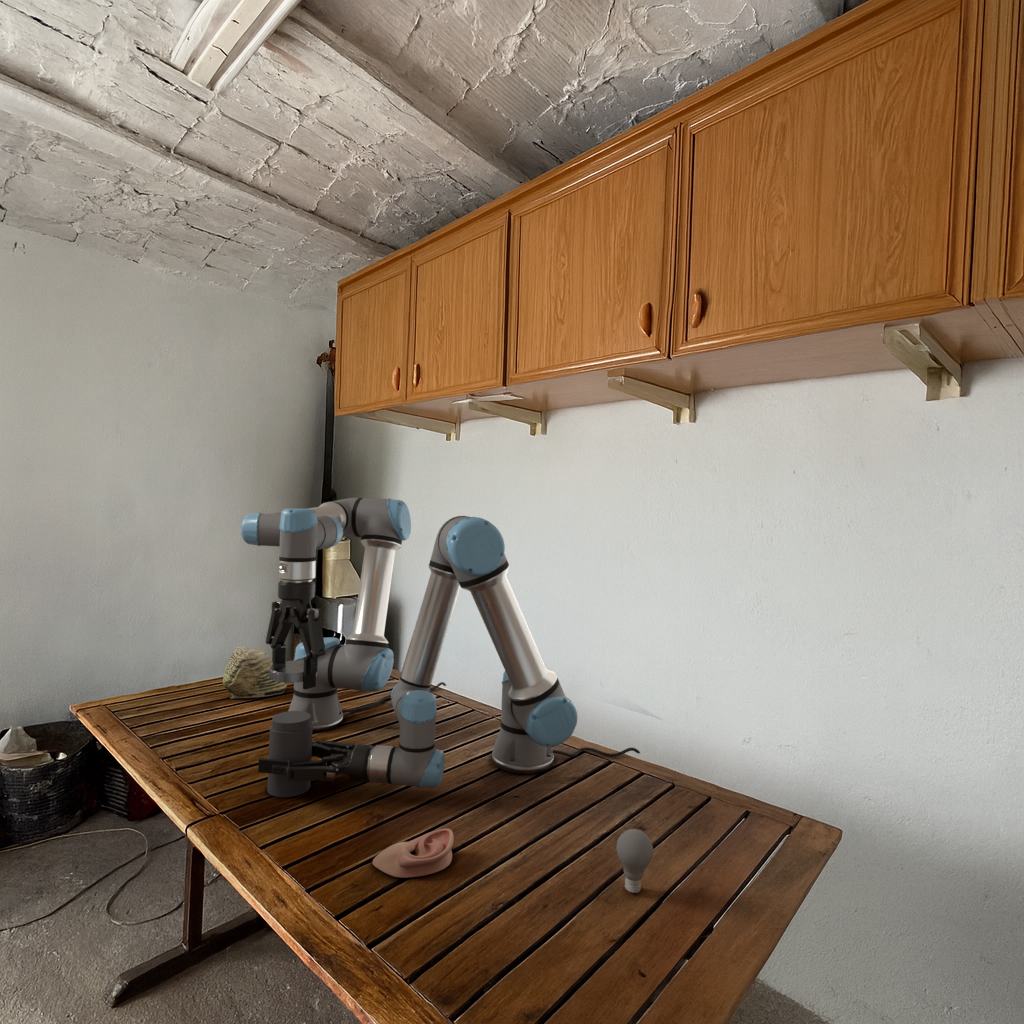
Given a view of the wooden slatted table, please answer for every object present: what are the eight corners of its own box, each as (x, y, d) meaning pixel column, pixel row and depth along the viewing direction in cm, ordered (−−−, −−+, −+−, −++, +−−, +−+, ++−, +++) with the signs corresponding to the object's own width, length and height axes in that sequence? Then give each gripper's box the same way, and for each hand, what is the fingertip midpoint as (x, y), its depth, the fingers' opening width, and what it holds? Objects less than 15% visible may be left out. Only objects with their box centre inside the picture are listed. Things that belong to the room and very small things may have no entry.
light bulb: (610, 879, 108) (613, 822, 108) (644, 879, 109) (647, 822, 109) (619, 902, 102) (622, 840, 102) (655, 901, 103) (658, 840, 103)
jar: (313, 793, 135) (316, 720, 135) (270, 800, 131) (272, 726, 131) (306, 776, 143) (309, 708, 143) (265, 782, 139) (267, 712, 139)
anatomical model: (365, 849, 107) (391, 816, 119) (364, 872, 107) (390, 837, 119) (440, 861, 105) (459, 827, 116) (439, 885, 105) (459, 848, 116)
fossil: (218, 695, 195) (220, 647, 195) (278, 685, 208) (279, 640, 207) (228, 703, 189) (230, 653, 188) (289, 692, 201) (290, 645, 201)
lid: (298, 666, 144) (298, 657, 144) (327, 675, 138) (327, 666, 138) (259, 676, 136) (259, 666, 136) (288, 685, 130) (289, 675, 130)
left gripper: (250, 575, 140) (247, 676, 140) (316, 588, 127) (313, 698, 128) (279, 573, 146) (276, 669, 146) (345, 584, 133) (342, 689, 134)
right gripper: (354, 805, 125) (244, 796, 127) (384, 760, 147) (290, 753, 148) (356, 767, 125) (245, 759, 127) (385, 728, 146) (291, 721, 148)
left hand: (293, 682), depth 137 cm, fingers closed on lid, 10 cm apart
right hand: (269, 756), depth 137 cm, fingers closed on jar, 9 cm apart
